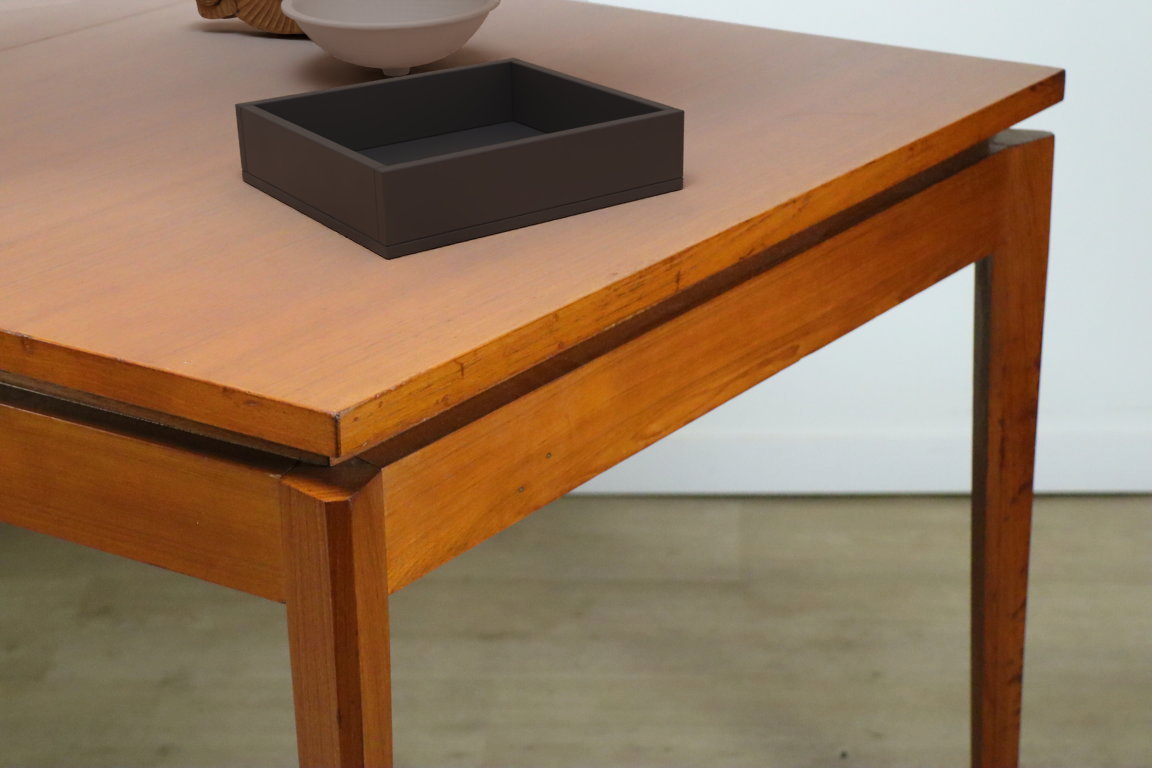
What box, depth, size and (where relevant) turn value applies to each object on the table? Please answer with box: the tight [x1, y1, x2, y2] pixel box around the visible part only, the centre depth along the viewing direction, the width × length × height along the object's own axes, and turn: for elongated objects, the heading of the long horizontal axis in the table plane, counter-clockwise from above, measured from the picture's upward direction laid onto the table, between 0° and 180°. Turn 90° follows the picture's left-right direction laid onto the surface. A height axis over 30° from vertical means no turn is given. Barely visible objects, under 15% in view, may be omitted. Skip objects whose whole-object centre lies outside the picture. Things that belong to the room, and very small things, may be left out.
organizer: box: [234, 57, 685, 260], centre depth 78 cm, size 15×17×4 cm
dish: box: [281, 0, 502, 77], centre depth 101 cm, size 18×14×5 cm
